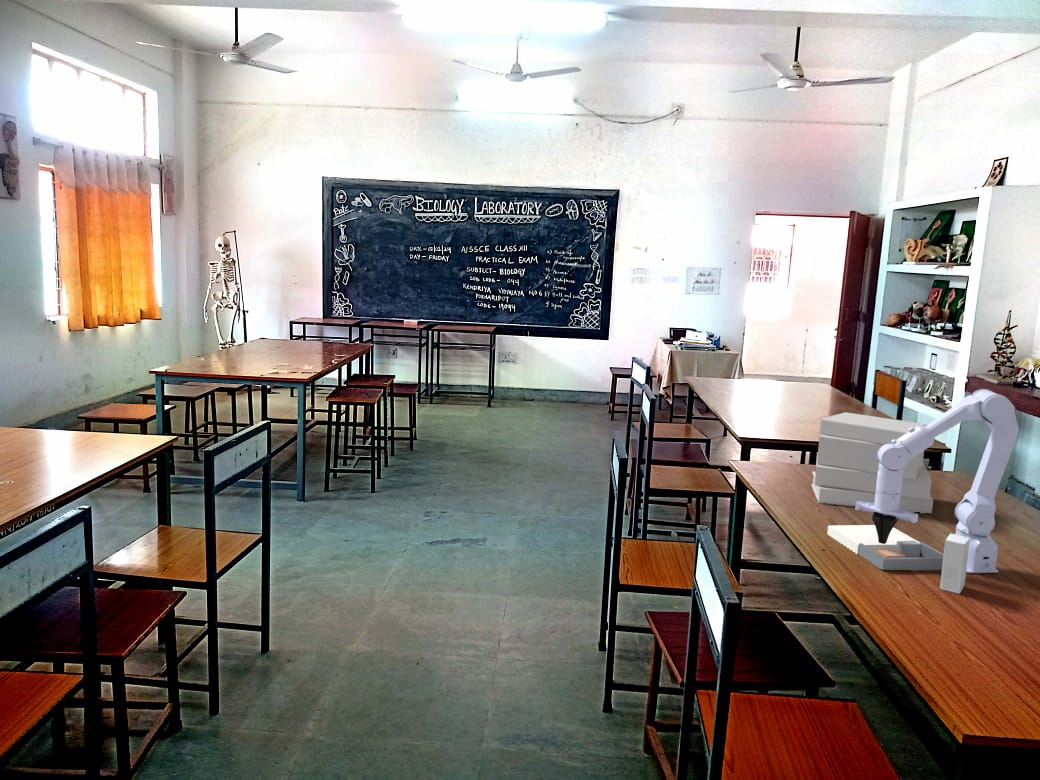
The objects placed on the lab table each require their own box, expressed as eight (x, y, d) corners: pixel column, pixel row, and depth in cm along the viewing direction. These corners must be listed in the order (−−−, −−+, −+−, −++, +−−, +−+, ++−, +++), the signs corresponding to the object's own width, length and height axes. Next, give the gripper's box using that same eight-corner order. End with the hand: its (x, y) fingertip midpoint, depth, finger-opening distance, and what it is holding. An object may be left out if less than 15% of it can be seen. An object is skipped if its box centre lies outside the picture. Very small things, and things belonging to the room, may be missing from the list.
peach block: (895, 549, 191) (894, 559, 191) (877, 550, 190) (876, 559, 191) (905, 555, 187) (904, 565, 187) (886, 555, 186) (885, 565, 187)
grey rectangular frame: (949, 569, 184) (950, 558, 184) (882, 571, 182) (883, 559, 182) (921, 553, 195) (922, 542, 194) (857, 554, 193) (859, 543, 192)
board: (922, 553, 195) (923, 544, 195) (857, 554, 193) (858, 545, 193) (887, 533, 210) (888, 524, 209) (827, 534, 208) (828, 525, 207)
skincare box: (944, 581, 177) (950, 532, 175) (964, 586, 175) (970, 537, 173) (938, 589, 173) (944, 539, 171) (959, 594, 170) (966, 544, 168)
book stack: (940, 519, 224) (950, 435, 220) (815, 506, 233) (823, 425, 229) (915, 491, 253) (924, 417, 249) (805, 481, 261) (812, 409, 257)
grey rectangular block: (912, 555, 194) (919, 559, 191) (895, 555, 193) (901, 559, 191) (914, 540, 193) (921, 544, 191) (896, 541, 192) (903, 544, 190)
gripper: (924, 494, 188) (918, 546, 190) (864, 482, 198) (859, 531, 200) (915, 500, 183) (909, 553, 185) (854, 487, 193) (849, 537, 195)
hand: (882, 542), depth 192 cm, fingers closed
